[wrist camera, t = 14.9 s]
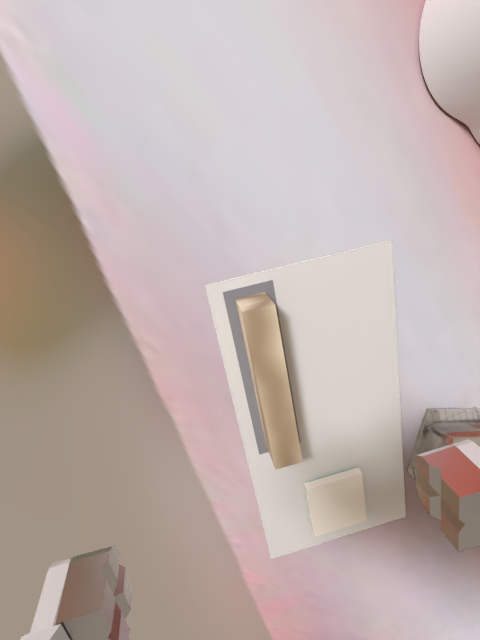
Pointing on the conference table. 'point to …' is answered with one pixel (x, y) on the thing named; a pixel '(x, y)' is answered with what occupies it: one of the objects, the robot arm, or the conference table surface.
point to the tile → (336, 501)
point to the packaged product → (445, 431)
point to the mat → (322, 386)
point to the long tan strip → (270, 377)
